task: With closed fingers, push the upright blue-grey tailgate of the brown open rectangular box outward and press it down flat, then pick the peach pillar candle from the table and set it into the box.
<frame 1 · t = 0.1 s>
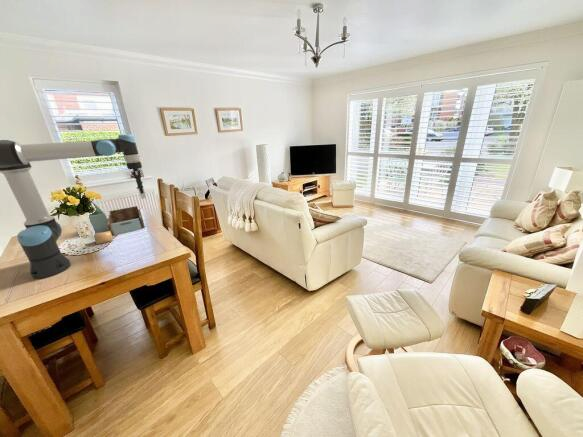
hand: (142, 196, 150), 28 cm above the table, fingers open, 13 cm apart
tailgate: (126, 226, 163), point 5 cm above the table, hinge at 0.0°
peach pillar candle: (105, 242, 153), on the table
brown open rectangular box: (128, 227, 174), on the table
planter: (102, 231, 172), on the table, touching brown open rectangular box
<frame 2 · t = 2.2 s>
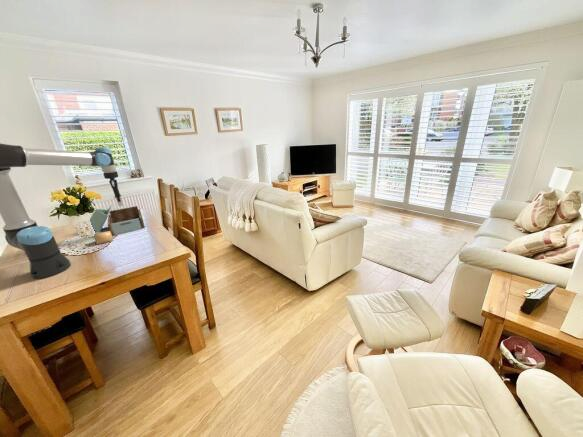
hand: (121, 205, 164), 18 cm above the table, fingers closed
planter: (93, 227, 171), point 2 cm above the table
everything else where it was.
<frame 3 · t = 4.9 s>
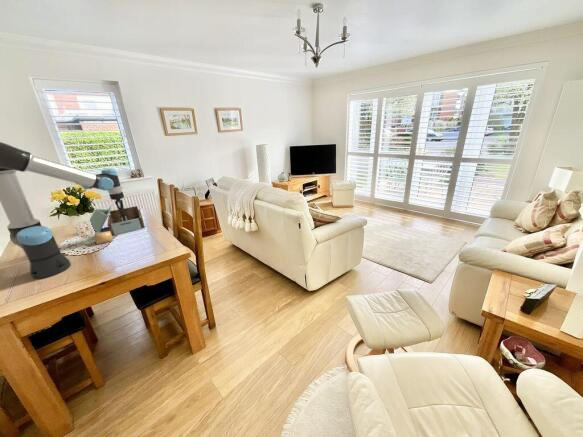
hand: (126, 225, 165), 5 cm above the table, fingers closed
tailgate: (126, 226, 163), point 5 cm above the table, hinge at 0.6°, touching gripper
planter: (93, 227, 171), point 2 cm above the table, touching brown open rectangular box
everything else where it was.
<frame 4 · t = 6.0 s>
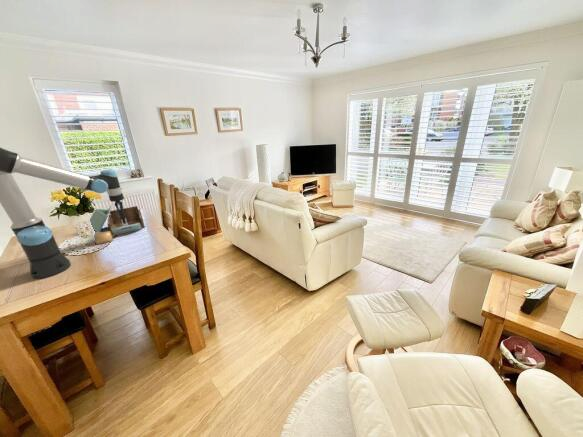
hand: (126, 227, 161), 6 cm above the table, fingers closed
tailgate: (127, 229, 162), point 4 cm above the table, hinge at 40.8°, touching gripper
everything else where it was.
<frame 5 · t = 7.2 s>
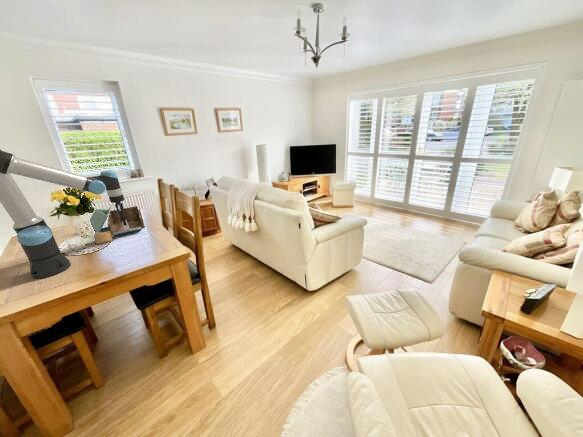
hand: (126, 229, 158), 5 cm above the table, fingers closed
tailgate: (127, 231, 161), point 3 cm above the table, hinge at 62.3°, touching gripper
everything else where it was.
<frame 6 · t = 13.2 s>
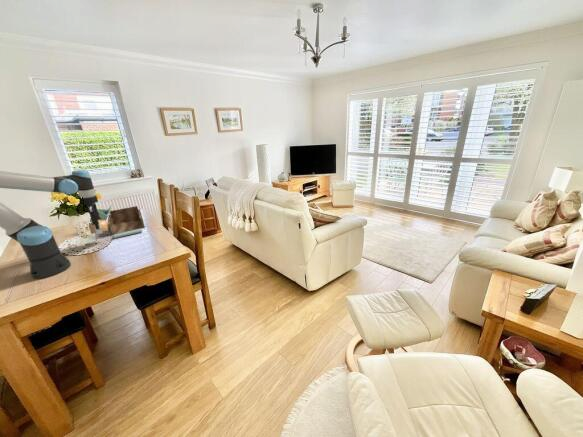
hand: (100, 231, 149), 8 cm above the table, fingers closed on peach pillar candle, 7 cm apart
tailgate: (128, 233, 162), point 2 cm above the table, hinge at 80.9°
peach pillar candle: (100, 231, 150), point 8 cm above the table, touching gripper
everything else where it was.
when the fingers open (3 cm above the table, at t = 16.8 s): peach pillar candle stays where it is, resting on brown open rectangular box.
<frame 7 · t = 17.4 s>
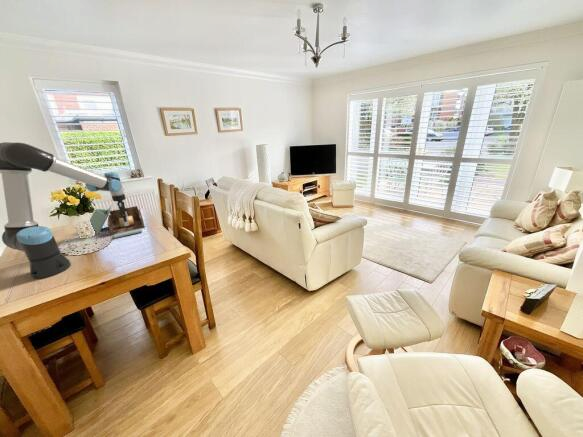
hand: (126, 222, 173), 4 cm above the table, fingers open, 13 cm apart
peach pillar candle: (128, 225, 174), point 1 cm above the table, touching brown open rectangular box
everything else where it was.
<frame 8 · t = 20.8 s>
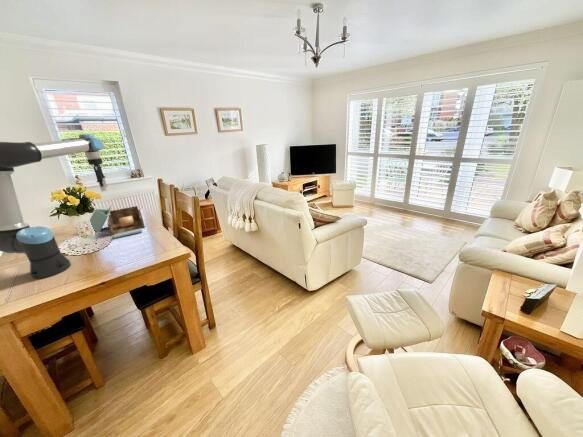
hand: (104, 189, 167), 29 cm above the table, fingers open, 13 cm apart
nothing on the table moved.
at the end: tailgate at +81° (first picture: +0°); peach pillar candle inside the target area on the brown open rectangular box (0.2 cm from its centre), point 1.5 cm above the brown open rectangular box's base; the gripper is holding nothing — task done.
